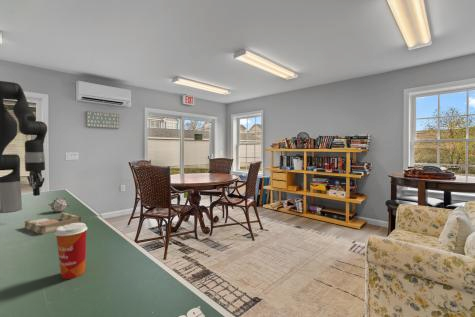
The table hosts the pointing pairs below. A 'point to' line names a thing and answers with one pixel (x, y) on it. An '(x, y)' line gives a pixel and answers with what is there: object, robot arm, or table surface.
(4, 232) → the table surface
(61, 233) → the paper cup
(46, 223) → the terracotta tile
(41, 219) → the cream tile
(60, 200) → the game die
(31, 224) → the box
